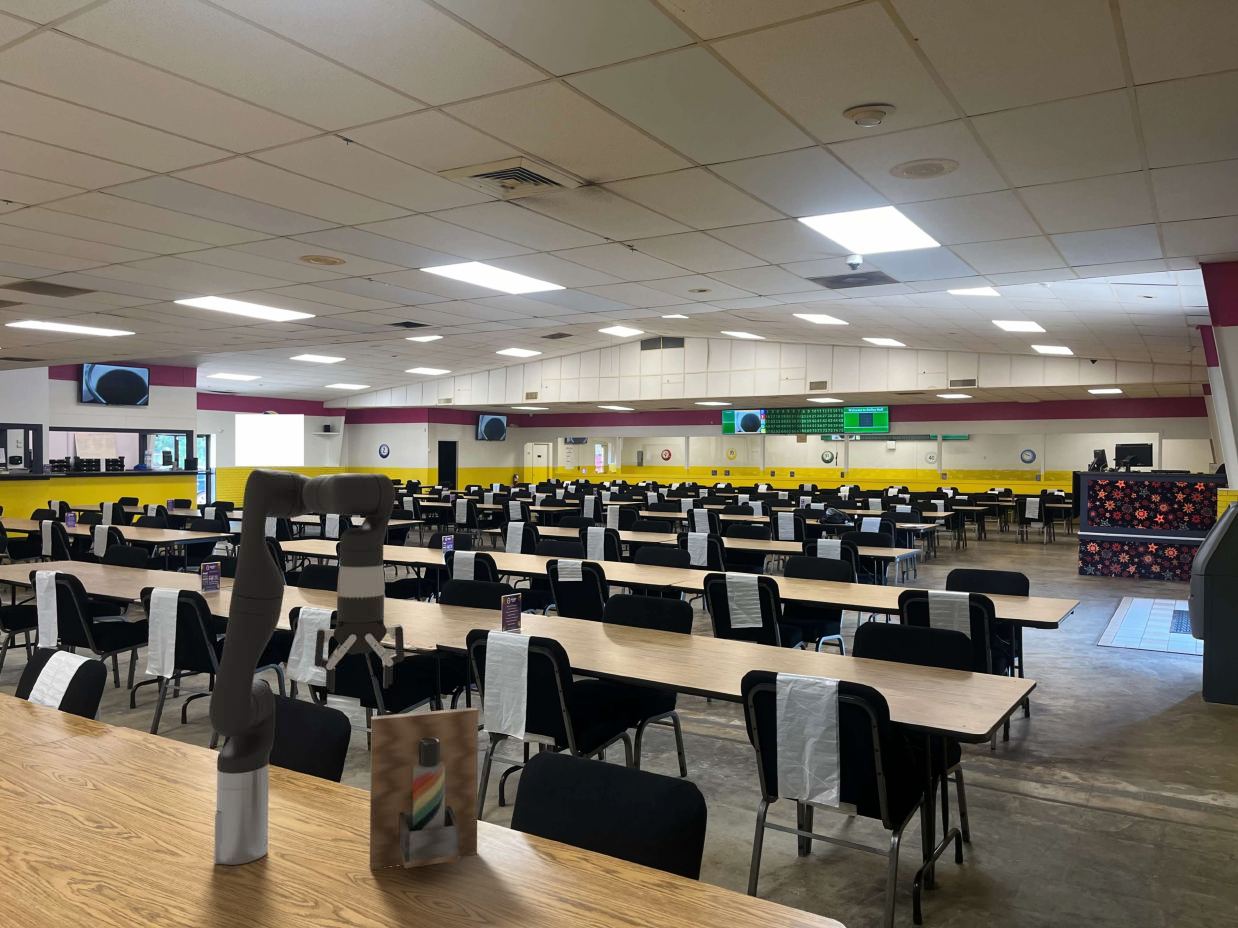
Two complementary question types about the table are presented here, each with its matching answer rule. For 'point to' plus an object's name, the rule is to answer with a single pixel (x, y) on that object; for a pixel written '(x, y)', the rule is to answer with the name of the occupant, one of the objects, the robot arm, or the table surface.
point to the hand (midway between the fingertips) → (359, 689)
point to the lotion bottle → (428, 787)
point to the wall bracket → (394, 788)
